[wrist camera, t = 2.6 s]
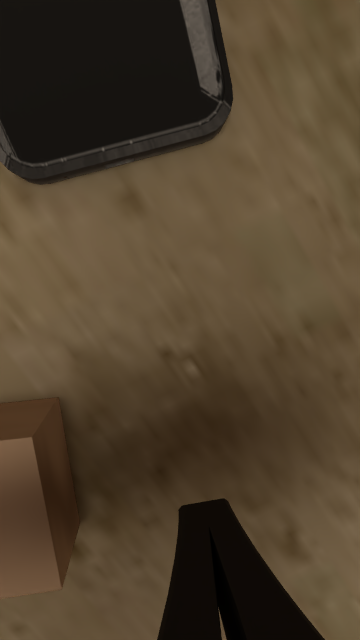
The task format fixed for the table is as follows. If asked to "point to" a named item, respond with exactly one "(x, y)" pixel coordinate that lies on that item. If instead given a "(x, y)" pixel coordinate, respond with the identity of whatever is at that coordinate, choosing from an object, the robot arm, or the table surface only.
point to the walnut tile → (35, 498)
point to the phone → (107, 83)
